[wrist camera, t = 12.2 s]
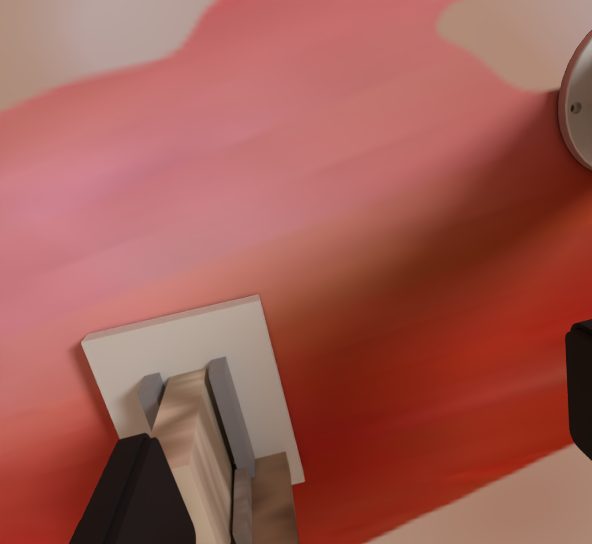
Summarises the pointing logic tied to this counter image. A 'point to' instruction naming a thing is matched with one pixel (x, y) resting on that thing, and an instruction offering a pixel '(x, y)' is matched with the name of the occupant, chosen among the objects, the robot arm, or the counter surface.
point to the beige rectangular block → (198, 453)
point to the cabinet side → (264, 503)
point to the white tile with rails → (193, 356)
